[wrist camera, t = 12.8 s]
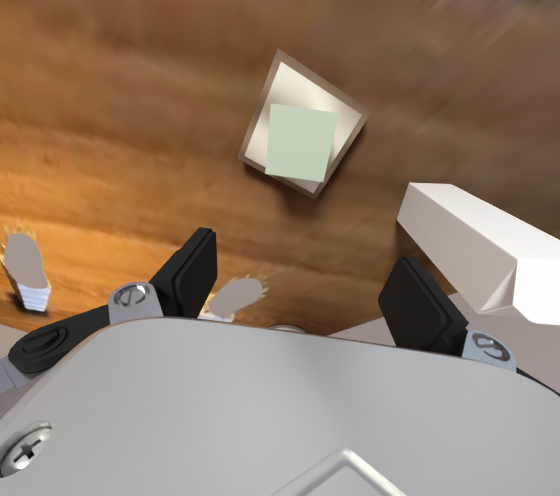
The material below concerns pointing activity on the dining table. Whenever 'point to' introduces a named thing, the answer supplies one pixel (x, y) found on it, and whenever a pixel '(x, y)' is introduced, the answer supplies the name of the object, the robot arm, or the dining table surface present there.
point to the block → (299, 142)
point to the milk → (485, 252)
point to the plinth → (306, 94)
